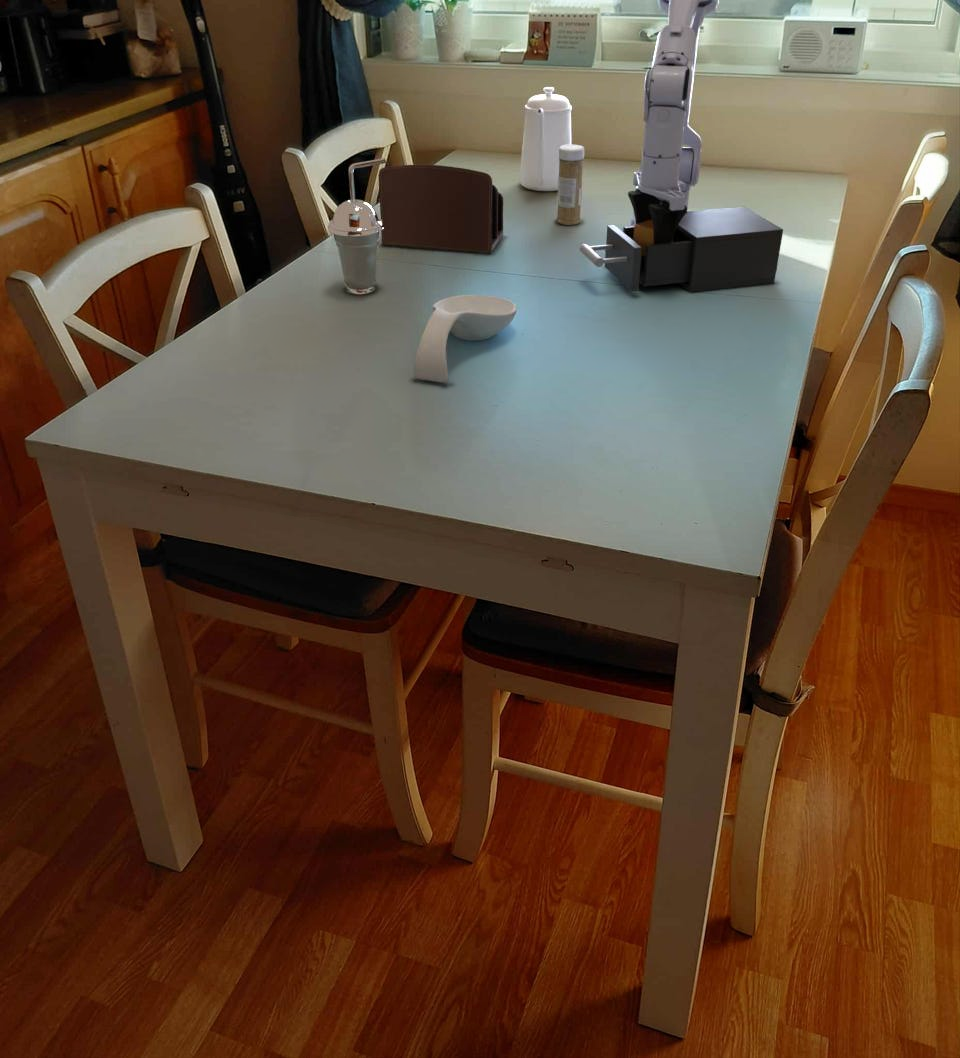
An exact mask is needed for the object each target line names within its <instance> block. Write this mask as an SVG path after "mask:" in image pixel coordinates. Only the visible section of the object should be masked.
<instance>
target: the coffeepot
mask: <svg viewBox="0 0 960 1058" xmlns="http://www.w3.org/2000/svg"><path fill="white" fill-rule="evenodd" d="M543 92H544V93H542V94H536V95H533V96H531V97H530V98H529V99H528V101H527V103H526V104H525V105H524V112H525V113H524V114H525V115H524V125H523V135H522V148H521V158H520V170H519V183H520V185H521V186H522V187H524V188H525V189H528V190H531V191H536V192H555V191H556V192H558V178H559V163H560V162H559V148H560V147H561V146H563V145H573V143H572V116H571V115H572V114H571V113H572V110H573V109H572V108H573V106H572V104H570V101H569V99H568V98H567V97H566V96H565V95H561V94H554V93H553V92H555V87H553V86H545V87H543Z"/></svg>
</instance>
